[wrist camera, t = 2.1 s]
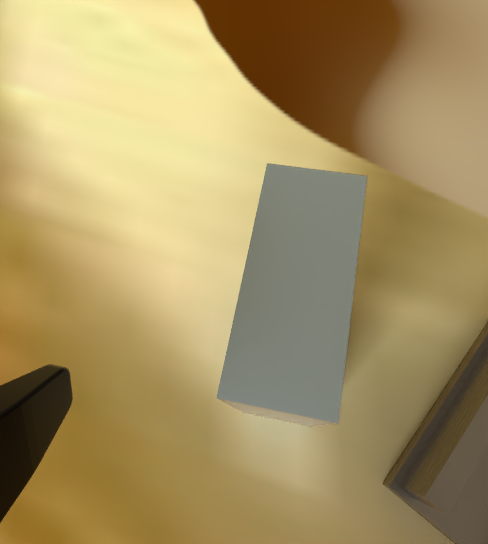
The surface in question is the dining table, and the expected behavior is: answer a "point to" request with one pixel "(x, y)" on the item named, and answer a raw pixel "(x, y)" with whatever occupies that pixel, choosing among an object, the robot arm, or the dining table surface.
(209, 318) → the dining table surface
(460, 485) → the dish rack
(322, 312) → the tall grey-blue box
